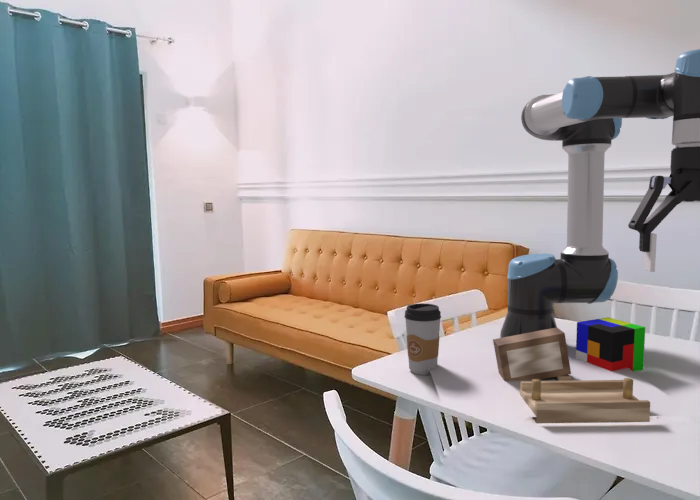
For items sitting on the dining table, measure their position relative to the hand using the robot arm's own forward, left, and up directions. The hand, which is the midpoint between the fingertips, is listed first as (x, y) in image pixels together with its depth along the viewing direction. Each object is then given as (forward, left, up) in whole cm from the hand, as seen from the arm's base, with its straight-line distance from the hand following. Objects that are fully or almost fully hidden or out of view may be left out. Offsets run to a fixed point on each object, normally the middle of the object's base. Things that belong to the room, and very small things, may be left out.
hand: (689, 270), depth 93 cm
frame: (-19, -20, -26) cm, 38 cm away
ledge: (-4, -16, -27) cm, 32 cm away
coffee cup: (-27, -43, -27) cm, 58 cm away
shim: (-19, -15, -27) cm, 36 cm away
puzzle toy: (-28, 0, -27) cm, 39 cm away
